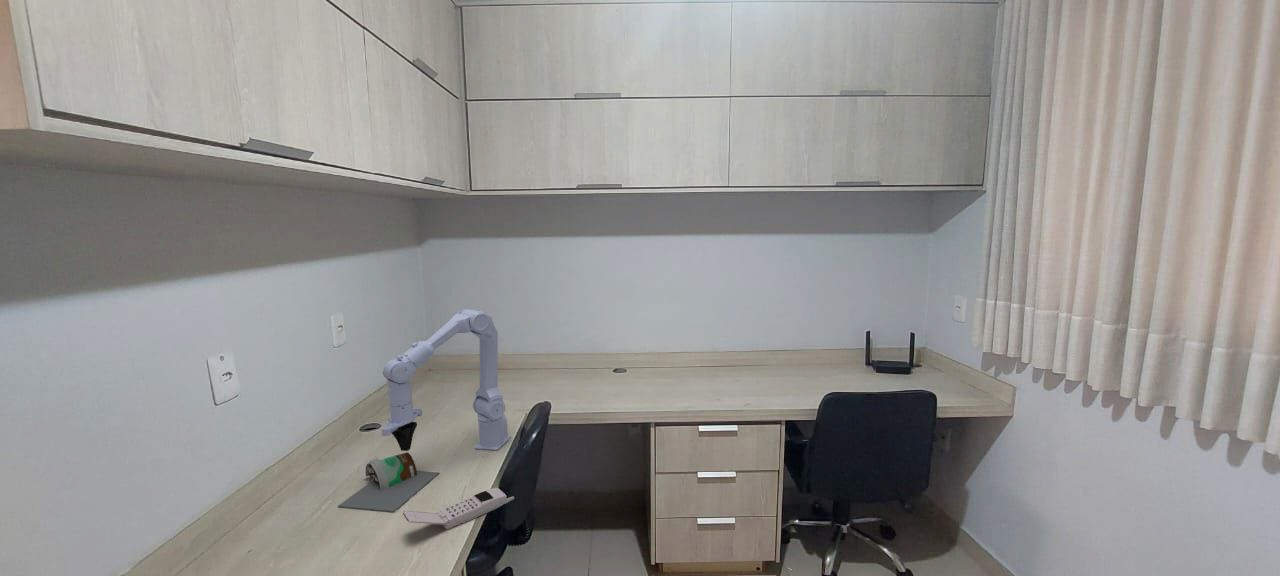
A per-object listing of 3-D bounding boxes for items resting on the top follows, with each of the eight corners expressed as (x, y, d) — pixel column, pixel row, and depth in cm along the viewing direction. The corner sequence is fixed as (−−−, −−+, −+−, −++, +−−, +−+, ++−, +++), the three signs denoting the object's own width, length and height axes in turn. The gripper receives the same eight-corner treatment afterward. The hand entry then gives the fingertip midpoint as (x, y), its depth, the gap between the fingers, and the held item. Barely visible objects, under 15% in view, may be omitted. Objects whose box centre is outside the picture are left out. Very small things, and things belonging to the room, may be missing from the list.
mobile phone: (401, 510, 113) (503, 471, 129) (403, 534, 114) (505, 492, 130) (409, 522, 108) (514, 480, 125) (412, 547, 109) (515, 502, 125)
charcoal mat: (389, 470, 144) (389, 468, 144) (439, 473, 141) (439, 472, 141) (338, 507, 125) (337, 505, 125) (394, 512, 122) (394, 511, 122)
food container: (417, 455, 138) (379, 469, 131) (419, 476, 139) (381, 491, 131) (399, 443, 146) (362, 455, 139) (401, 462, 147) (365, 476, 140)
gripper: (405, 393, 145) (409, 437, 146) (369, 412, 130) (374, 461, 132) (427, 394, 143) (431, 439, 145) (393, 413, 129) (398, 462, 131)
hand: (405, 449), depth 139 cm, fingers closed
